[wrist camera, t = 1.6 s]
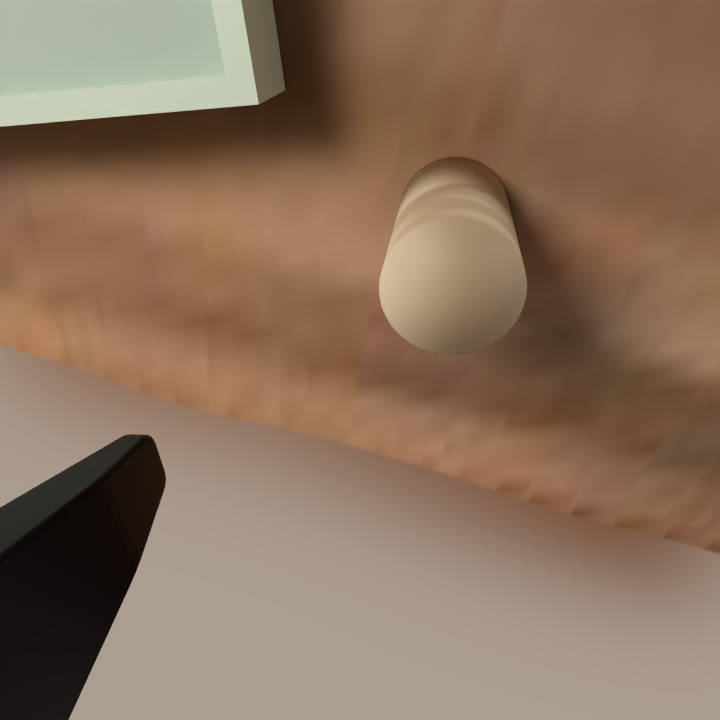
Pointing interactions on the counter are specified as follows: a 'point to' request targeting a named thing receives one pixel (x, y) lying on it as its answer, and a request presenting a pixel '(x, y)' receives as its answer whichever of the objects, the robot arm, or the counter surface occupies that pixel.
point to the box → (134, 57)
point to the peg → (453, 260)
